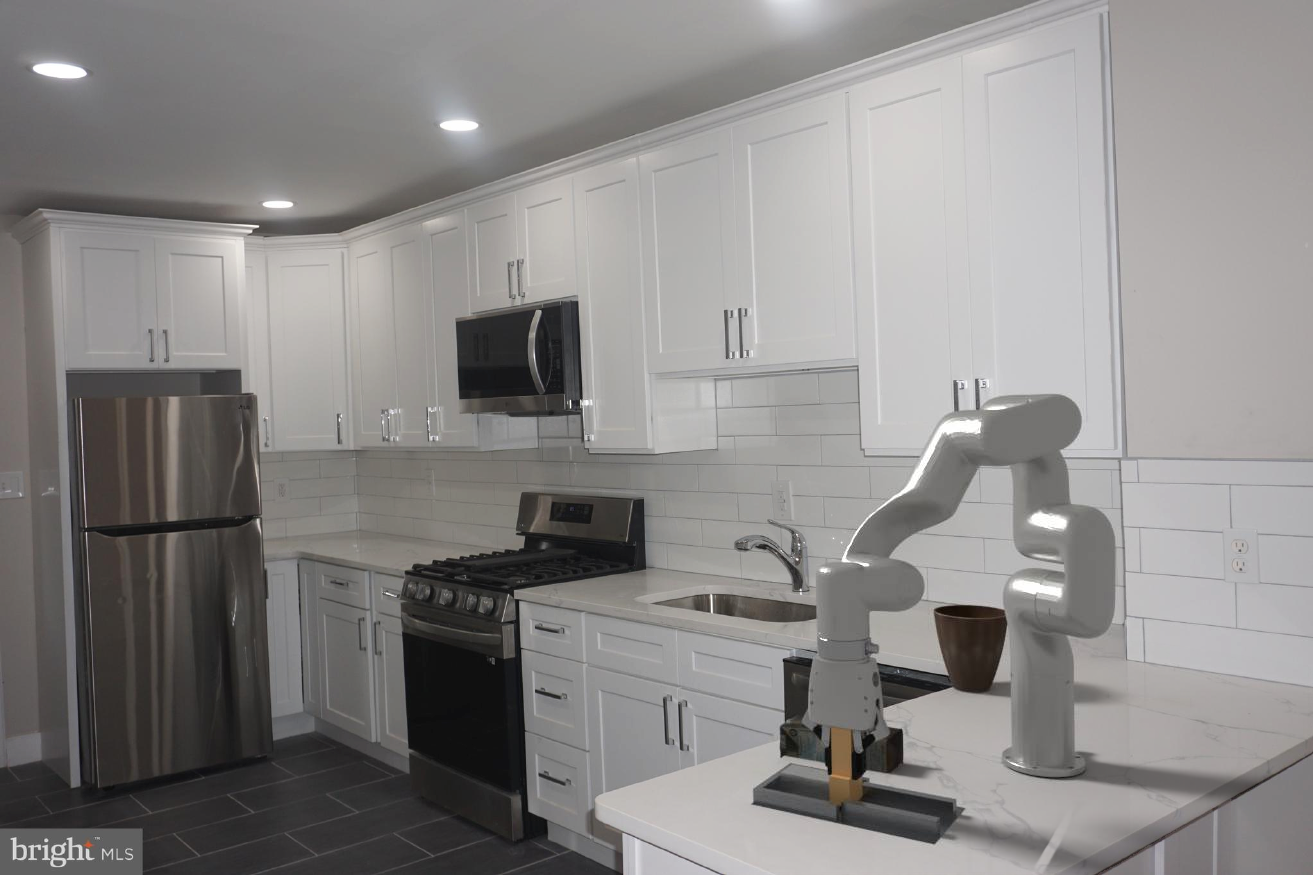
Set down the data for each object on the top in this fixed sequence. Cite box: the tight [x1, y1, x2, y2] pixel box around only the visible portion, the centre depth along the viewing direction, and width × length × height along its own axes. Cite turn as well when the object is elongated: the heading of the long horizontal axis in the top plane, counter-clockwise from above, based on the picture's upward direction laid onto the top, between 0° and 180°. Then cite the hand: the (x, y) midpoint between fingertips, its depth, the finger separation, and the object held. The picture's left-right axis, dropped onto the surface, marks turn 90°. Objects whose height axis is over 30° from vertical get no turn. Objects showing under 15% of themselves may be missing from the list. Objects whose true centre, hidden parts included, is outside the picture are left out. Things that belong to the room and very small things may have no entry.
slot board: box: [751, 762, 966, 845], centre depth 143 cm, size 14×27×3 cm, turn 57°
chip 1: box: [780, 763, 816, 797], centre depth 148 cm, size 4×4×4 cm
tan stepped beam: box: [829, 727, 863, 806], centre depth 144 cm, size 5×3×12 cm, turn 147°
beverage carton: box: [778, 714, 904, 774], centre depth 164 cm, size 8×19×7 cm, turn 59°
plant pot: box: [932, 604, 1008, 693], centre depth 207 cm, size 15×15×16 cm
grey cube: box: [805, 769, 830, 802], centre depth 146 cm, size 4×4×4 cm
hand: (845, 773), depth 144 cm, fingers closed on tan stepped beam, 3 cm apart
